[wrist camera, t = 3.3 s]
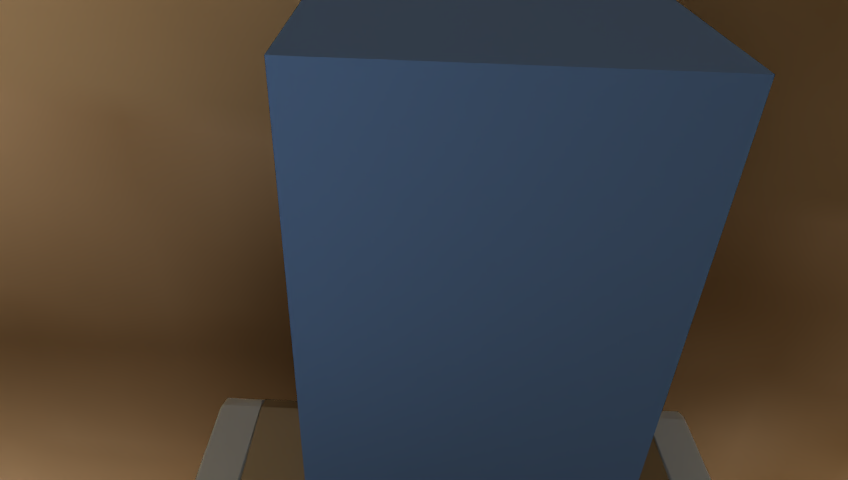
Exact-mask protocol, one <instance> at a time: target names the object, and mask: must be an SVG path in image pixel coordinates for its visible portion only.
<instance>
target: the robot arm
mask: <svg viewBox="0 0 848 480" xmlns="http://www.w3.org/2000/svg"><path fill="white" fill-rule="evenodd" d="M195 480H305V475H304V465H303V454H302V444H301V433H300V423H299V412H298V402H297V401H292V400H274V399H265V400H264V399H244V398H227V399H226V401H225V402H224V403H223V405H222V406H221V408H220V410H219V413H218V416H217V419H216V422H215V425H214V427H213V430H212V433H211V436H210V439H209V442H208V444H207V447H206V450H205V453H204V456H203V459H202V461H201V464H200V467H199V470H198V473H197V476H196V479H195ZM639 480H711V478H710V476H709V473H708V471H707V469H706V466H705V464H704V462H703V459H702V457H701V455H700V453H699V450H698V448H697V446H696V443H695V441H694V439H693V437H692V434H691V432H690V430H689V427H688V425H687V423H686V420H685V418H684V417H683V416H682V415H681V414H680V413H679V412H678V411H662V412H661V415H660V418H659V421H658V424H657V427H656V430H655V433H654V436H653V439H652V442H651V445H650V448H649V451H648V454H647V457H646V460H645V463H644V466H643V469H642V472H641V475H640V478H639Z"/></svg>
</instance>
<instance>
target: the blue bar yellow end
mask: <svg viewBox="0 0 848 480" xmlns="http://www.w3.org/2000/svg"><path fill="white" fill-rule="evenodd" d="M264 56H265V67H266V77H267V88H268V98H269V109H270V119H271V130H272V140H273V151H274V161H275V171H276V182H277V192H278V203H279V213H280V224H281V234H282V245H283V255H284V266H285V276H286V287H287V297H288V308H289V318H290V329H291V339H292V349H293V360H294V370H295V381H296V391H297V402H298V412H299V423H300V433H301V444H302V454H303V465H304V475H305V480H639V478H640V475H641V472H642V469H643V466H644V463H645V460H646V457H647V454H648V451H649V448H650V445H651V442H652V439H653V436H654V433H655V430H656V427H657V424H658V421H659V418H660V415H661V412H662V409H663V406H664V403H665V400H666V397H667V394H668V391H669V388H670V385H671V382H672V380H673V377H674V374H675V371H676V368H677V365H678V362H679V359H680V356H681V353H682V350H683V347H684V344H685V341H686V338H687V335H688V332H689V329H690V326H691V323H692V320H693V317H694V314H695V311H696V308H697V305H698V302H699V299H700V296H701V293H702V290H703V287H704V284H705V281H706V278H707V275H708V272H709V269H710V266H711V264H712V261H713V258H714V255H715V252H716V249H717V246H718V243H719V240H720V237H721V234H722V231H723V228H724V225H725V222H726V219H727V216H728V213H729V210H730V207H731V204H732V201H733V198H734V195H735V192H736V189H737V186H738V183H739V180H740V177H741V174H742V171H743V168H744V165H745V162H746V159H747V156H748V153H749V150H750V148H751V145H752V142H753V139H754V136H755V133H756V130H757V127H758V124H759V121H760V118H761V115H762V112H763V109H764V106H765V103H766V100H767V97H768V94H769V91H770V88H771V85H772V82H773V79H774V76H775V74H774V73H772V72H771V71H770V70H768V69H767V68H766V67H764V66H763V65H762V64H760V63H759V62H758V61H756V60H755V59H754V58H752V57H751V56H750V55H748V54H747V53H746V52H744V51H743V50H741V49H740V48H739V47H737V46H736V45H735V44H733V43H732V42H731V41H729V40H728V39H727V38H725V37H724V36H723V35H721V34H720V33H719V32H717V31H716V30H715V29H713V28H712V27H711V26H709V25H708V24H707V23H705V22H704V21H703V20H701V19H700V18H699V17H697V16H696V15H695V14H693V13H692V12H691V11H689V10H688V9H687V8H685V7H684V6H683V5H681V4H680V3H679V2H677V1H676V0H301V2H300V3H299V5H298V6H297V8H296V9H295V11H294V12H293V14H292V15H291V17H290V18H289V19H288V21H287V22H286V24H285V25H284V27H283V28H282V30H281V31H280V33H279V34H278V36H277V37H276V39H275V40H274V42H273V43H272V44H271V46H270V47H269V49H268V50H267V52H266V53H265V55H264Z"/></svg>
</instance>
